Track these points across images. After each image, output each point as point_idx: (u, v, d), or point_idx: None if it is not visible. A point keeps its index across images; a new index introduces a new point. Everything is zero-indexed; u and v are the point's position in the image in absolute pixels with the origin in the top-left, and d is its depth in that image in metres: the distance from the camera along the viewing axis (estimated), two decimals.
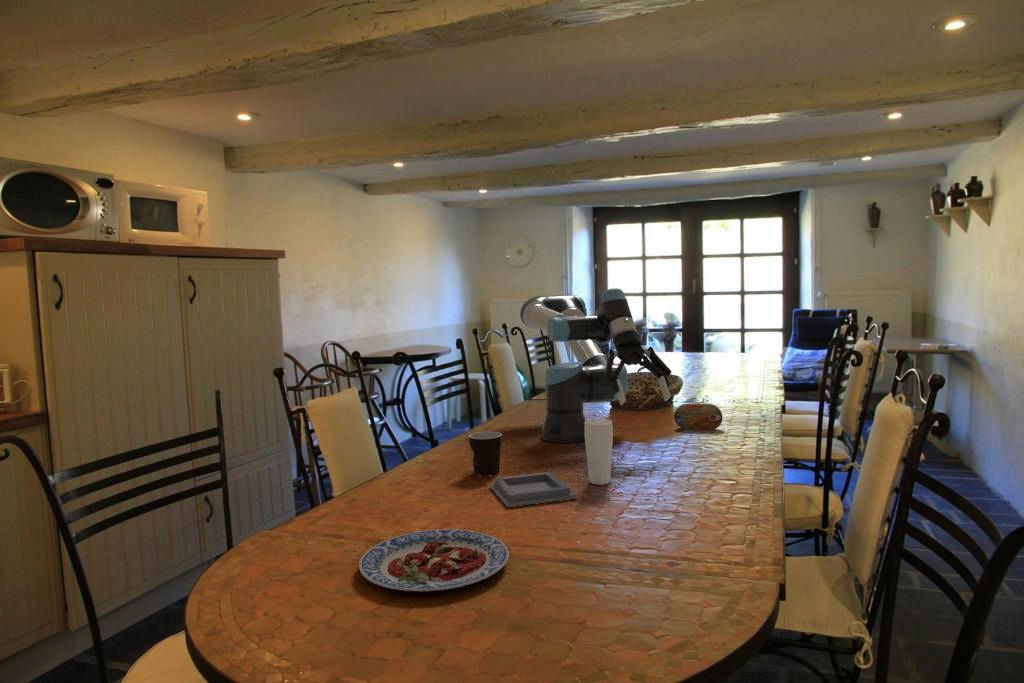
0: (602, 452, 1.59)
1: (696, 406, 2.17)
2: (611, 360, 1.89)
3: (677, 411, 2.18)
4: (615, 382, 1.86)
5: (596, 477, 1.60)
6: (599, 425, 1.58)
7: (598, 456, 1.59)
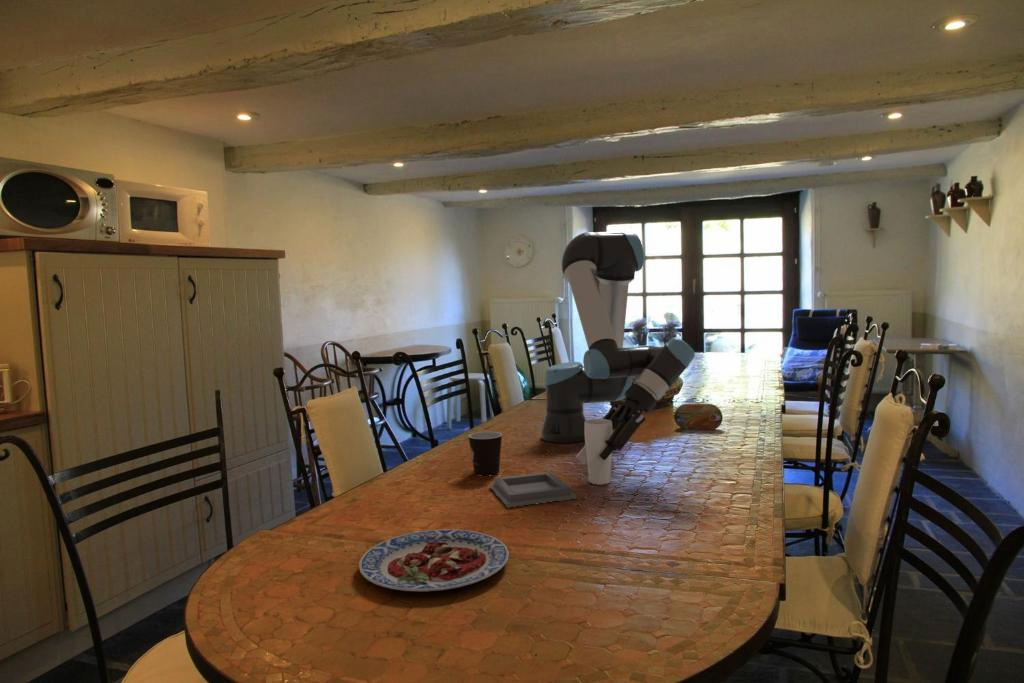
0: None
1: (696, 406, 2.16)
2: None
3: (677, 411, 2.18)
4: None
5: (596, 477, 1.60)
6: (599, 425, 1.58)
7: None
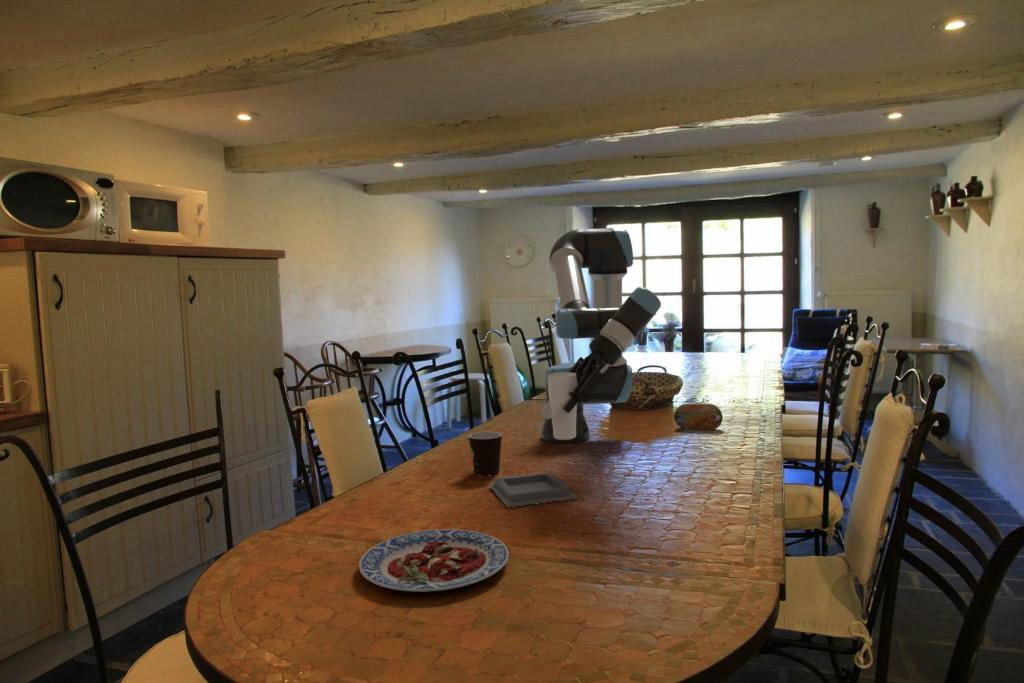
0: None
1: (696, 406, 2.17)
2: None
3: (677, 411, 2.18)
4: None
5: (561, 431, 1.54)
6: (562, 377, 1.52)
7: None
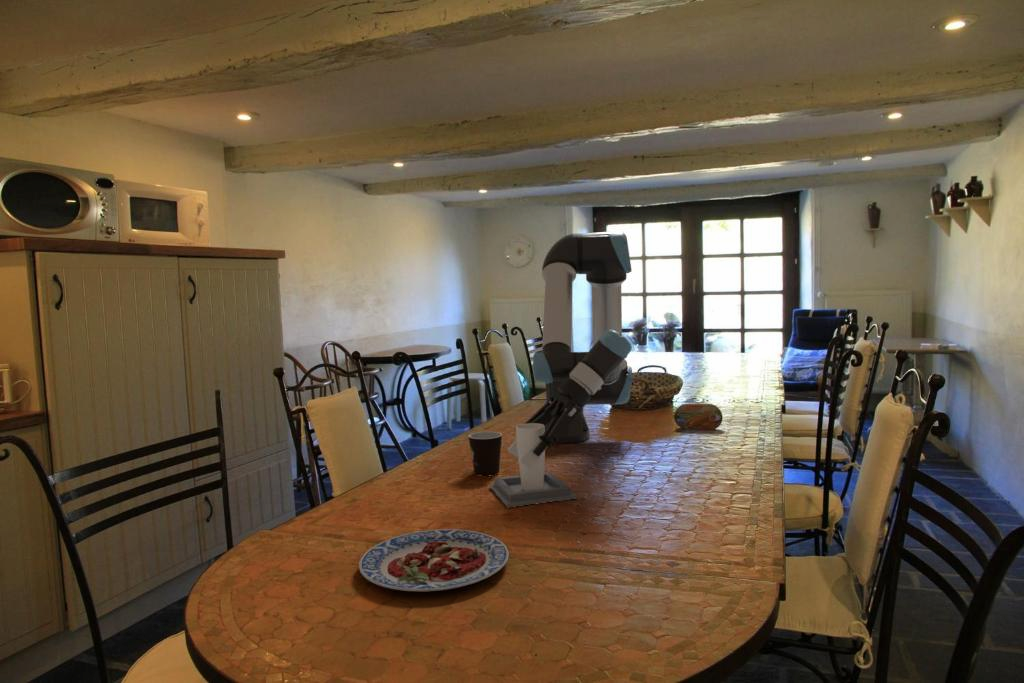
0: None
1: (696, 406, 2.16)
2: None
3: (677, 411, 2.18)
4: None
5: (527, 484, 1.53)
6: (529, 430, 1.51)
7: None
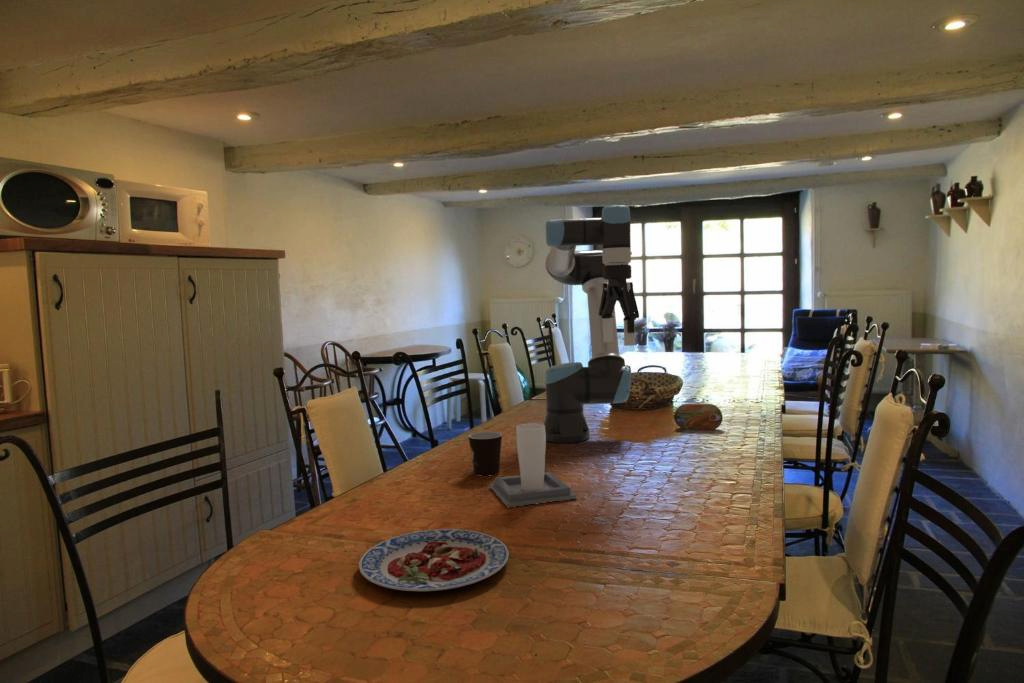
0: (533, 458, 1.52)
1: (696, 406, 2.17)
2: None
3: (677, 411, 2.18)
4: None
5: (527, 484, 1.53)
6: (529, 430, 1.51)
7: (529, 463, 1.52)
